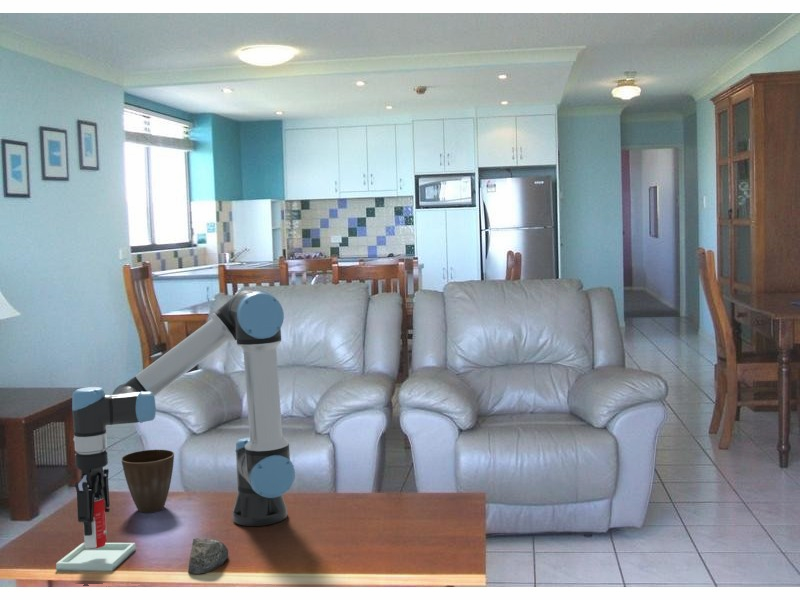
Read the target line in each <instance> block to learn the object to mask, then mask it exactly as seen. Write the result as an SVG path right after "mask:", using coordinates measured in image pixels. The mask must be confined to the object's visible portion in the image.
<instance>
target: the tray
mask: <svg viewBox="0 0 800 600" xmlns="http://www.w3.org/2000/svg"><path fill="white" fill-rule="evenodd" d="M136 546H137V545H136V542H106V543H105V546H103V547H101V548H97V549H88V548H85V545H84V542H82V543H81V544H78V546H76V547H75V548H73V550H72V551H70V552H69V553H67V554H66V555H65V556H64V557H62V558H61V559H60V560H58V561H57V562H56V563H55V566H56V571H58V572H59V571H61V572H63V571H65V572H67V571H69V572H70V571H71V572H72V571H75V572H77V571H79V572H80V571H81V572H88V571H89V572H92V571H93V572H113V571H114V570H115V569H116V568H118V566H120V565H121V564H122V563H123V562H124V561H125V560H126V559H127V558H128V557H129V556H131V555H132V554H133V553H134V552H135V551H137V550H136V549H137V547H136Z"/></svg>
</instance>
